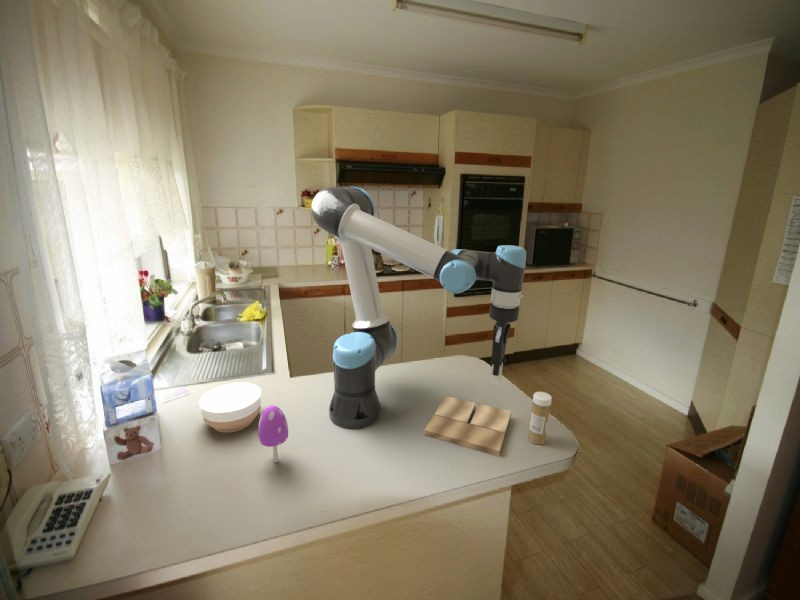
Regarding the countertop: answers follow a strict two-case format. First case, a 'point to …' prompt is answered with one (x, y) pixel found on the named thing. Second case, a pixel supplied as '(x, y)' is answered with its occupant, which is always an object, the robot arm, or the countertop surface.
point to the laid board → (465, 434)
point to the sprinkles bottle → (539, 417)
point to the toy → (273, 429)
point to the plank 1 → (455, 409)
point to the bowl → (231, 406)
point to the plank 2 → (491, 418)
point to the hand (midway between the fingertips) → (495, 383)
